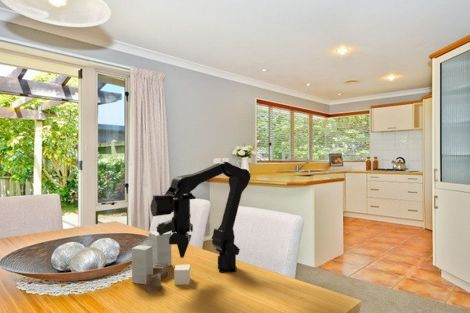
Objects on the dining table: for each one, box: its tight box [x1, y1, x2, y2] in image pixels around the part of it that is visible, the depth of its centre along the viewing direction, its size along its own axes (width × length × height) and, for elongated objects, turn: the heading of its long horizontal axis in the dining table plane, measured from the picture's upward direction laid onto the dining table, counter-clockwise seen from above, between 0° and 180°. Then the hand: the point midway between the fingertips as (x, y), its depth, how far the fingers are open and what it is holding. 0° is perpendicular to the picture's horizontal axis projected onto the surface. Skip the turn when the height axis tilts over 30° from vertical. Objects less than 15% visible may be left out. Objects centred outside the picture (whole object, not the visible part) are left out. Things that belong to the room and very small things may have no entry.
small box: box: [148, 230, 172, 267], centre depth 121 cm, size 8×6×13 cm
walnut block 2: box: [145, 273, 162, 293], centre depth 100 cm, size 4×4×4 cm
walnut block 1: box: [153, 263, 169, 280], centre depth 110 cm, size 4×4×4 cm
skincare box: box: [131, 244, 153, 285], centre depth 105 cm, size 6×4×12 cm
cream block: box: [173, 264, 191, 286], centre depth 105 cm, size 5×5×5 cm
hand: (182, 257), depth 105 cm, fingers closed
